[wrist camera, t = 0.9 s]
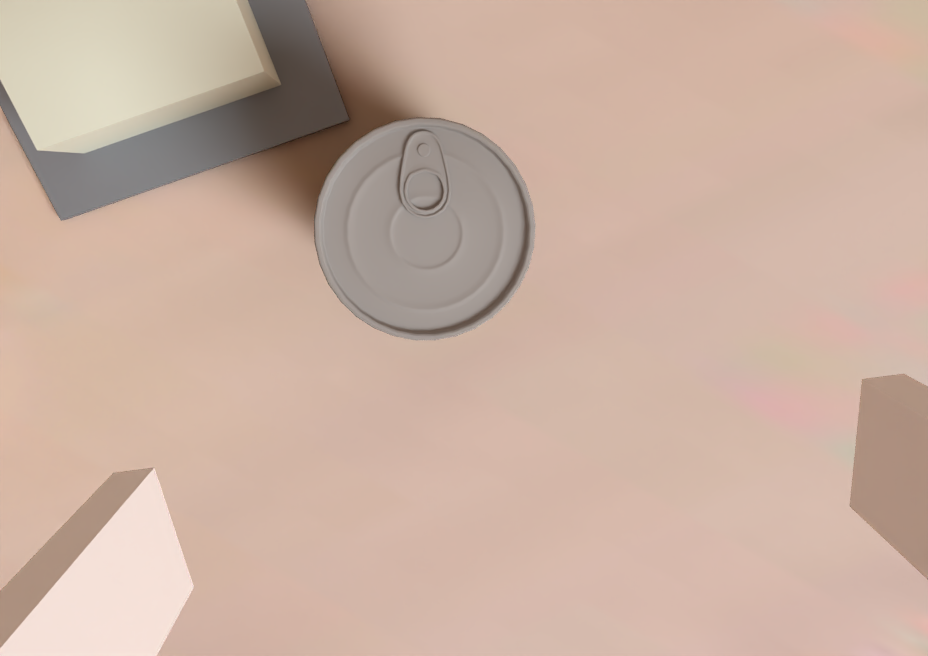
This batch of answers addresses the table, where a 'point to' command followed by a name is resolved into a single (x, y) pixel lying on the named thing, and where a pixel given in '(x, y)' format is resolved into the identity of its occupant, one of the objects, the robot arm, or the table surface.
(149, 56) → the cream base block
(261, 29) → the grey flat square
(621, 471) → the table surface
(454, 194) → the canned tomato
